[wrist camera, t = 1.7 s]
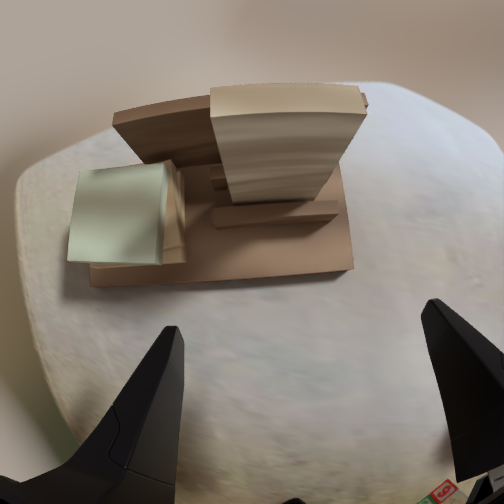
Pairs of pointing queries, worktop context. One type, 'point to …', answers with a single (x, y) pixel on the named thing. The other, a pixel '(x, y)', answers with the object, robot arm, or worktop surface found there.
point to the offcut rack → (228, 209)
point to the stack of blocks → (445, 495)
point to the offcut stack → (129, 217)
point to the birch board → (283, 137)
